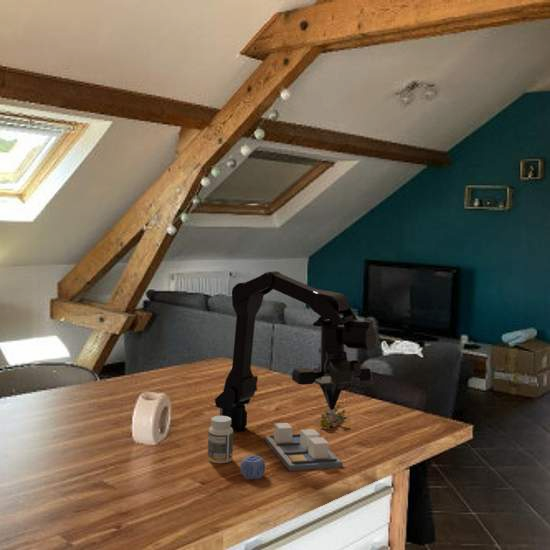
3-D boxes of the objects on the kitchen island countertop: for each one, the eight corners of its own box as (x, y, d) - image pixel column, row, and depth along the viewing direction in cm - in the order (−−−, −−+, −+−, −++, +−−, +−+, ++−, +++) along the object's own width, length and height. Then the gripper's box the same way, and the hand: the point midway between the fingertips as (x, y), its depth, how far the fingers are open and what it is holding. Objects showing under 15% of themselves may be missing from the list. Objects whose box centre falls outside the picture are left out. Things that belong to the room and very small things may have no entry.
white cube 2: (305, 450, 165) (306, 435, 165) (299, 444, 169) (300, 430, 168) (318, 449, 166) (319, 434, 166) (313, 443, 170) (314, 429, 169)
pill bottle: (219, 453, 164) (221, 413, 163) (237, 459, 160) (238, 418, 159) (202, 459, 160) (204, 418, 159) (220, 466, 156) (221, 424, 155)
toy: (352, 411, 197) (340, 422, 183) (340, 423, 198) (327, 436, 184) (339, 398, 198) (326, 408, 184) (327, 410, 200) (313, 421, 185)
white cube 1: (313, 459, 159) (314, 443, 159) (308, 453, 163) (308, 438, 163) (327, 458, 160) (328, 442, 160) (321, 452, 164) (322, 437, 164)
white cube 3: (278, 443, 169) (279, 428, 169) (273, 437, 173) (274, 423, 173) (291, 442, 170) (292, 427, 170) (287, 436, 174) (287, 422, 174)
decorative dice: (240, 476, 151) (240, 459, 150) (250, 471, 154) (251, 454, 154) (254, 481, 148) (255, 463, 148) (265, 475, 152) (265, 458, 151)
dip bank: (289, 470, 155) (289, 464, 155) (264, 439, 175) (264, 434, 175) (342, 466, 159) (342, 460, 159) (311, 436, 179) (312, 431, 179)
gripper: (307, 353, 154) (306, 421, 155) (382, 350, 160) (381, 415, 161) (291, 345, 165) (291, 408, 166) (362, 342, 170) (361, 403, 171)
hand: (331, 409), depth 166 cm, fingers closed
